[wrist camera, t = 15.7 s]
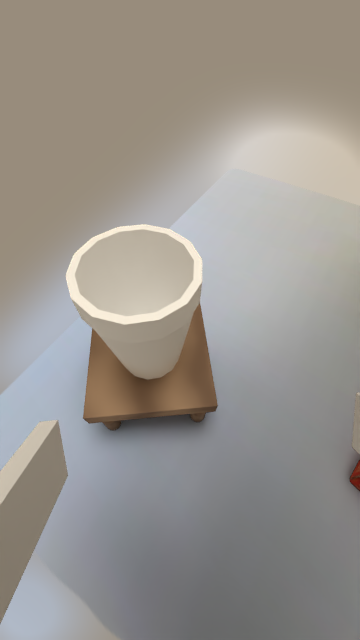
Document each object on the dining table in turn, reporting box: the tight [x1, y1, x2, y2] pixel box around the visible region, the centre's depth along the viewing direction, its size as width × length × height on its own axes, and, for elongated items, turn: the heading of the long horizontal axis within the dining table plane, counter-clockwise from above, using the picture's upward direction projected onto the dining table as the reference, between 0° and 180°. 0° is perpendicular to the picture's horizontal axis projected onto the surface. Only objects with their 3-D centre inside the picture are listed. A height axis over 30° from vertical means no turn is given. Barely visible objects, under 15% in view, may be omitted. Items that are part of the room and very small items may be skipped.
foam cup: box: [66, 224, 202, 380], centre depth 24 cm, size 10×9×13 cm
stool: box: [83, 303, 218, 430], centre depth 33 cm, size 13×13×8 cm
